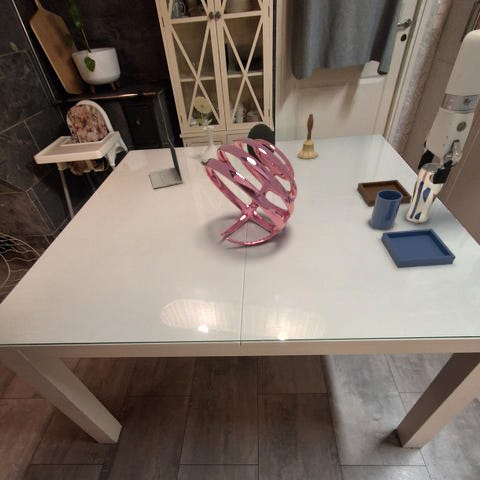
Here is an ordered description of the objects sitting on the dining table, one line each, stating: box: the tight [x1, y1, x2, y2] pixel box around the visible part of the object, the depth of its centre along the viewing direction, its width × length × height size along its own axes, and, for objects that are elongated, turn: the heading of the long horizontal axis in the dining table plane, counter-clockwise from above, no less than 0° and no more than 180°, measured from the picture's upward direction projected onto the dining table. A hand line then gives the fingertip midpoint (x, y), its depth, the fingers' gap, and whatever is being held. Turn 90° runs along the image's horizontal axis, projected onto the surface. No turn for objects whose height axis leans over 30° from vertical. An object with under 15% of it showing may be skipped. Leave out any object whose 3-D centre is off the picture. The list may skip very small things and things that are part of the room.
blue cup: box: [369, 190, 403, 230], centre depth 89 cm, size 7×7×9 cm
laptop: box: [148, 137, 183, 189], centre depth 127 cm, size 18×12×13 cm
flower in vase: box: [192, 95, 218, 164], centre depth 132 cm, size 13×11×25 cm
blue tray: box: [381, 228, 456, 268], centre depth 81 cm, size 14×14×2 cm
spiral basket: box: [203, 137, 298, 246], centre depth 85 cm, size 28×28×27 cm
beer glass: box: [405, 162, 444, 224], centre depth 87 cm, size 7×7×15 cm
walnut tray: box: [357, 179, 413, 207], centre depth 103 cm, size 14×14×2 cm
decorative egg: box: [246, 123, 276, 164], centre depth 129 cm, size 12×12×15 cm
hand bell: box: [297, 113, 318, 160], centre depth 129 cm, size 8×8×16 cm
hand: (430, 176), depth 83 cm, fingers open, 9 cm apart
